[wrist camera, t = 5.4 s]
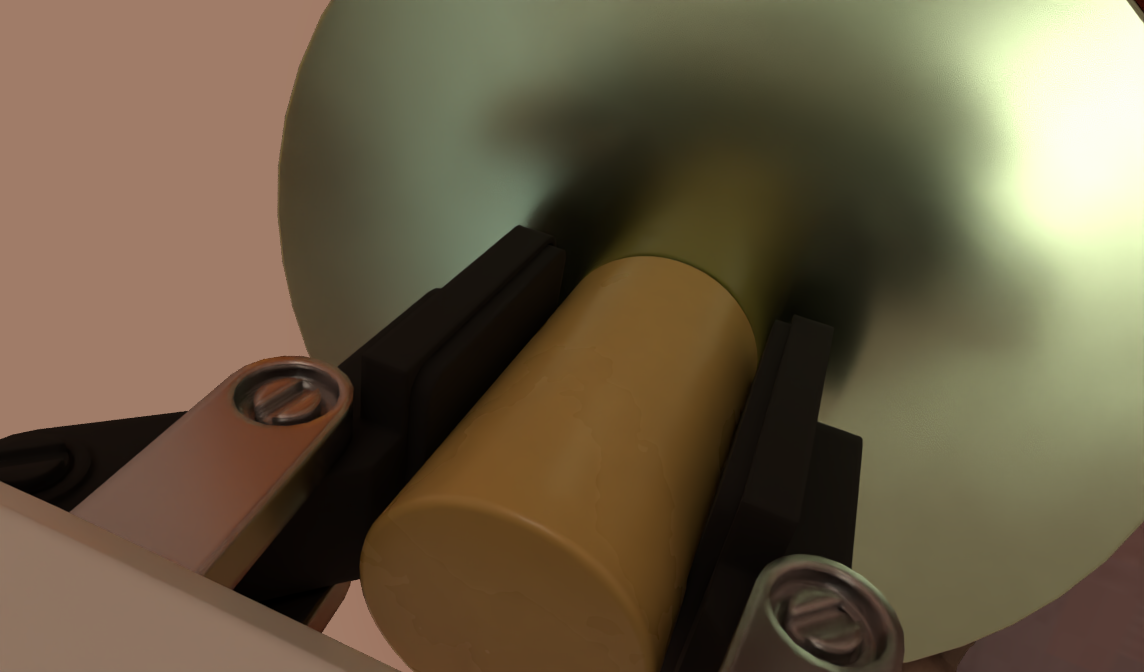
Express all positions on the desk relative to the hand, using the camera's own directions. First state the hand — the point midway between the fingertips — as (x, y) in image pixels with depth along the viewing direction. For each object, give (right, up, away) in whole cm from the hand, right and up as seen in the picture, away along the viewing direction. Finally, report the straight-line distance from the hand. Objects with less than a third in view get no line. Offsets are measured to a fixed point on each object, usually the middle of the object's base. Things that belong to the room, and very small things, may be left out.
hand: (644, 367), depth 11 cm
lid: (0, +1, +1) cm, 1 cm away
